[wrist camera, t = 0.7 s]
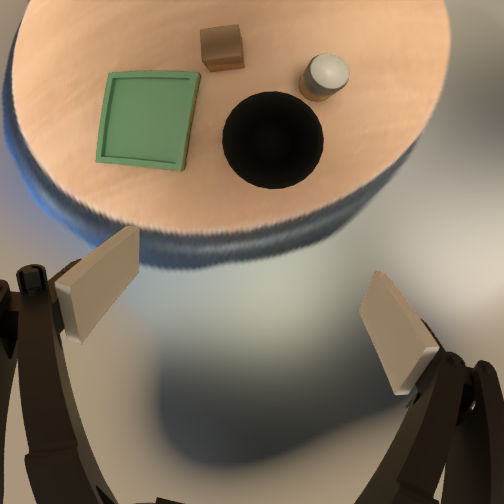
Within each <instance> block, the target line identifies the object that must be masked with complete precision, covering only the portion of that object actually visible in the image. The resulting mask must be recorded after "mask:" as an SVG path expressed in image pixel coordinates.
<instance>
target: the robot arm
mask: <svg viewBox="0 0 504 504" xmlns="http://www.w3.org/2000/svg"><path fill="white" fill-rule="evenodd" d="M139 229H140V228H139V227H133V226H126V227H125V228H123V229H122V230H120V231H119V232H118V233H116V234H115V235H114V236H112V237H111V238H110V239H108V240H107V241H105V242H104V243H103V244H102V245H100V246H99V247H98V248H96V249H95V250H94V251H92V252H91V253H90V254H88V255H87V256H86V257H85V258H84V259H78V260H76V261H73V262H71V263H70V264H69V265H67V266H66V267H65V269H64V268H63V269H62V270H61V271H60V273H59V272H58V273H57V274H56V275H55V276H54V277H52V278H51V279H50V280H49V281H47V275H46V270H45V267H43V266H42V265H38V264H31V265H27V266H24V267H22V268H21V269H20V270H18V271H17V274H16V277H17V281H18V286H19V290H20V292H12V291H10V288H9V285H8V282H7V281H5V280H0V504H3V496H4V445H5V431H6V421H7V413H8V406H9V399H10V393H11V388H12V382H13V377H14V373H15V368H16V364H17V360H18V372H19V387H20V396H21V406H22V413H23V419H24V426H25V431H26V436H27V441H28V446H29V454H27V455H25V466H26V471H27V474H28V478H29V481H30V485H31V488H32V491H33V494H34V497H35V500H36V503H37V504H118V502H117V500H116V499H115V497H114V495H113V493H112V492H111V490H110V488H109V487H108V485H107V484H106V482H105V480H104V478H103V476H102V473H101V471H100V469H99V467H98V464H97V462H96V460H95V457H94V455H93V452H92V450H91V447H90V445H89V442H88V439H87V437H86V434H85V431H84V428H83V425H82V422H81V419H80V416H79V413H78V410H77V406H76V403H75V399H74V396H73V392H72V388H71V384H70V380H69V376H68V372H67V367H66V363H65V358H64V353H63V347H62V341H61V338H60V333H61V331H62V330H63V329H65V332H66V336H67V339H68V340H71V341H73V342H76V343H78V344H81V345H82V343H83V342H84V341H85V339H86V338H87V337H88V335H89V334H90V333H91V331H92V330H93V329H94V328H95V326H96V325H97V324H98V322H99V321H100V320H101V318H102V317H103V316H104V315H105V313H106V312H107V311H108V310H109V308H110V307H111V306H112V304H113V303H114V302H115V301H116V300H117V298H118V297H119V296H120V295H121V293H122V292H123V291H124V290H125V289H126V287H127V286H128V285H129V284H130V282H131V281H132V280H133V279H134V278H135V277H136V275H137V274H138V273H139ZM359 313H360V315H361V317H362V320H363V322H364V324H365V326H366V328H367V330H368V333H369V335H370V337H371V339H372V342H373V344H374V346H375V348H376V351H377V353H378V355H379V358H380V360H381V362H382V365H383V367H384V369H385V372H386V374H387V377H388V379H389V382H390V384H391V387H392V389H393V392H394V394H395V395H401V394H402V395H403V394H409V392H410V391H411V390H412V388H413V387H414V385H416V387H417V389H418V391H417V393H416V394H415V395H414V397H413V398H412V399H411V401H410V402H409V403H408V404H407V406H406V408H408V407H409V408H408V411H407V413H406V415H405V417H404V419H403V422H402V424H401V426H400V428H399V430H398V432H397V434H396V436H395V438H394V440H393V442H392V443H391V445H390V448H389V449H388V451H387V453H386V454H385V456H384V458H383V460H382V461H381V463H380V465H379V467H378V468H377V470H376V472H375V473H374V475H373V476H372V478H371V480H370V481H369V483H368V484H367V486H366V487H365V489H364V490H363V492H362V493H361V495H360V496H359V497H358V499H357V500H356V502H355V503H354V504H439V501H438V500H435V499H434V498H433V496H434V493H435V490H436V488H437V485H438V483H439V480H440V477H441V474H442V472H443V469H444V466H445V476H444V484H443V492H442V499H441V504H504V400H503V395H502V391H501V388H500V384H499V380H498V377H497V373H496V371H495V369H494V367H493V366H492V365H491V364H490V363H489V362H486V361H483V360H480V361H478V362H477V364H476V365H475V367H474V368H470V367H466V366H465V362H464V361H463V360H462V358H461V357H460V356H458V355H457V354H455V353H453V352H446V351H445V350H444V348H443V347H442V345H441V344H440V342H439V341H438V339H437V338H436V337H435V335H434V333H433V332H431V329H430V328H429V326H428V325H427V324H426V323H425V322H424V321H423V320H422V319H421V318H419V316H418V315H417V314H416V312H415V311H414V309H413V308H412V307H411V305H410V304H409V302H408V301H407V300H406V298H405V297H404V296H403V294H402V293H401V292H400V290H399V289H398V288H397V287H396V285H395V284H394V283H393V281H392V280H391V279H390V277H389V276H388V275H387V274H386V273H385V272H380V271H374V273H373V276H372V279H371V281H370V284H369V287H368V289H367V292H366V294H365V297H364V299H363V302H362V304H361V307H360V309H359ZM474 404H475V406H474V409H473V410H472V407H473V405H474ZM445 463H446V464H445ZM136 504H183V503H179V502H174V501H170V500H166V499H162V498H158V497H157V499H156V503H136Z"/></svg>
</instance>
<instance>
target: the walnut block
mask: <svg viewBox="0 0 504 504" xmlns="http://www.w3.org/2000/svg"><path fill="white" fill-rule="evenodd" d="M200 37H201V52H202V62H203V63H204V64H205V65H206V67H207V68H208V69H209V70H210V72H215V71H222V70H230V69H239V68H244V57H243V46H242V38H241V34H240V30H239V25H229V26H221V27H214V28H208V29H202V30H200Z"/></svg>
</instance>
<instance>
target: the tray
mask: <svg viewBox="0 0 504 504" xmlns="http://www.w3.org/2000/svg"><path fill="white" fill-rule="evenodd" d="M200 78H201V75H200V74H199V73H198V72H184V71H129V72H112V73H109V75H108V79H107V84H106V89H105V94H104V100H103V106H102V112H101V119H100V126H99V133H98V142H97V152H96V162H97V163H109V164H121V165H131V166H141V167H150V168H159V169H167V170H175V171H183V170H185V163H186V156H187V149H188V143H189V137H190V131H191V125H192V119H193V113H194V108H195V103H196V97H197V92H198V87H199V82H200Z"/></svg>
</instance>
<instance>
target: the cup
mask: <svg viewBox="0 0 504 504" xmlns="http://www.w3.org/2000/svg"><path fill="white" fill-rule="evenodd" d="M323 142H324V137H323V131H322V127H321V124H320V122H319V120H318V118H317V116H316V114H315V113H314V112H313V111H312V109H311V108H310V107H309V106H308V105H307V104H305V103H304V102H303V101H302V100H300V99H299V98H296V97H294V96H292V95H290V94H287V93H282V92H277V91H274V92H262V93H258V94H255V95H252V96H250V97H248V98H246V99H245V100H243V101H241V102H240V103H239V104H238V105H237V106H236V107H235V108H234V109H233V110H232V112H231V113H230V115H229V117H228V118H227V120H226V123H225V126H224V129H223V138H222V144H223V149H224V154H225V156H226V159H227V161H228V163H229V165H230V166H231V167H232V169H233V170H234V171H235V172H236V174H237V175H239V176H240V177H241V178H242V179H244V180H245V181H246V182H248V183H251V184H253V185H255V186H257V187H262V188H267V189H282V188H286V187H289V186H293V185H295V184H297V183H299V182H300V181H302V180H304V179H305V178H306V177H307V176H308V175H309V174H310V173H312V172H313V170H314V169H315V167H316V166H317V164H318V162H319V160H320V157H321V154H322V152H323Z"/></svg>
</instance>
